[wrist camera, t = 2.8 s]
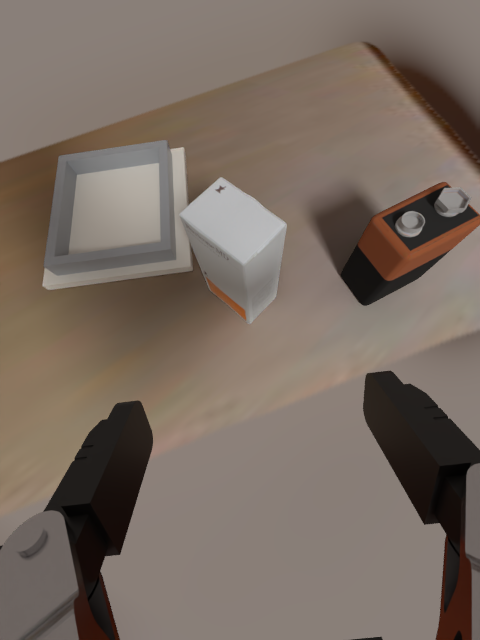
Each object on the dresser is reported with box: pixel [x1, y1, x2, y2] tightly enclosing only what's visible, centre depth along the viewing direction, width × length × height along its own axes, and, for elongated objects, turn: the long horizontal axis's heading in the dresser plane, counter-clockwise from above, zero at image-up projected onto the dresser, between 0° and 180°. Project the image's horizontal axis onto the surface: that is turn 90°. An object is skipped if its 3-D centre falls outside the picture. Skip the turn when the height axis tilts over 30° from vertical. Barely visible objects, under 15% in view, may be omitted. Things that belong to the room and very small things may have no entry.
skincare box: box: [179, 177, 287, 324], centre depth 23 cm, size 6×4×12 cm
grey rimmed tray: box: [43, 140, 193, 290], centre depth 32 cm, size 16×17×3 cm
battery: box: [341, 182, 480, 305], centre depth 24 cm, size 4×7×10 cm, turn 117°
